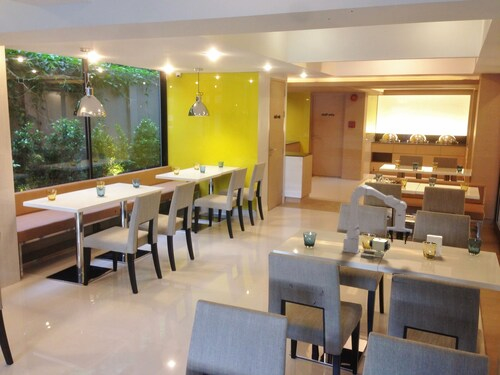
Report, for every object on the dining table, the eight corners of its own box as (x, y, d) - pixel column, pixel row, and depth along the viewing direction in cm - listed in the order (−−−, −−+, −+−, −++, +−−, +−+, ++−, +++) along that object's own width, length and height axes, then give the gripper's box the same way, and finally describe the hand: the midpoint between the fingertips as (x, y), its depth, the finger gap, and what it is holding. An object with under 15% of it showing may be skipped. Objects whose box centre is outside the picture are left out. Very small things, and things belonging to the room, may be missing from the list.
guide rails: (360, 256, 280) (360, 254, 280) (363, 252, 290) (363, 249, 290) (373, 258, 277) (373, 256, 277) (376, 253, 287) (376, 251, 287)
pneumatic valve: (386, 259, 275) (388, 240, 273) (368, 256, 282) (369, 237, 280) (389, 257, 280) (391, 238, 278) (371, 254, 286) (372, 235, 285)
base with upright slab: (441, 253, 290) (442, 235, 288) (440, 257, 282) (442, 238, 280) (426, 251, 294) (427, 233, 292) (425, 255, 286) (426, 236, 284)
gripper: (386, 221, 272) (385, 243, 274) (412, 224, 266) (410, 246, 268) (388, 219, 278) (387, 240, 280) (413, 221, 272) (411, 243, 275)
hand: (398, 242), depth 275 cm, fingers open, 7 cm apart
